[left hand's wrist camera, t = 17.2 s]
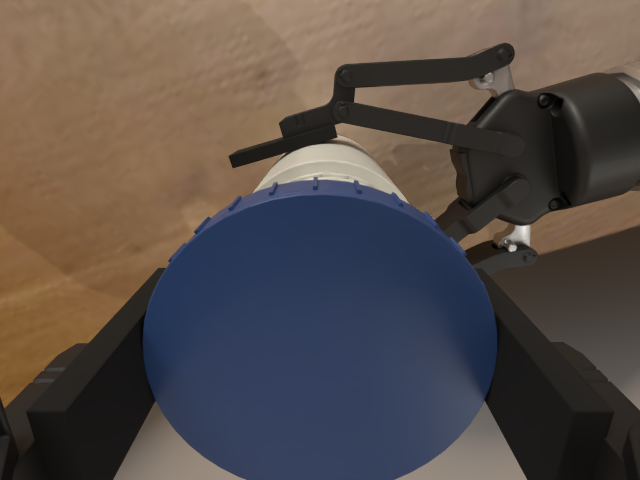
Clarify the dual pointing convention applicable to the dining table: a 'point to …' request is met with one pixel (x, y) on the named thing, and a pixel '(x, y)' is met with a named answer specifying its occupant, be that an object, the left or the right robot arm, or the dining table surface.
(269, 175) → the jar
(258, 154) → the right robot arm
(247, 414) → the lid
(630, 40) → the dining table surface
